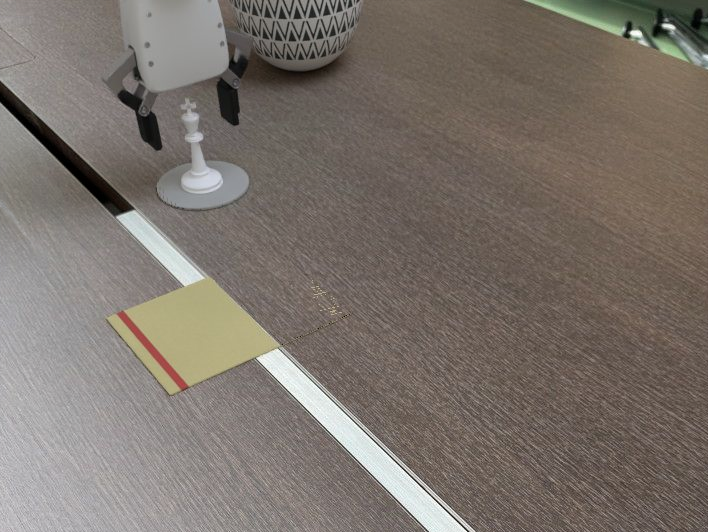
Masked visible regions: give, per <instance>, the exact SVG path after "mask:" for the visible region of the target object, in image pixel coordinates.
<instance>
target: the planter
mask: <svg viewBox="0 0 708 532" xmlns="http://www.w3.org/2000/svg"><path fill="white" fill-rule="evenodd" d="M228 2H229V5H230V9H231V12H232V15H233V18H234V21H235V23H236V26H237V28H238V32H240V33H243V34H246V35H247V36H249V37H251V38H252V39H253V46H252V49H251V51H252V52H254V53H255V54H256V55H257V56H258V57H260V58H261V59H262V60H263V61H265V62H267V63H268V64H270V65H272V66H273V67H276V68H278V69H280V70H284V71H290V72H308V71H313V70H317V69H320V68H323V67H325V66H328V65H329V64H331V63H332V62H334V61H335V60H336V59H337V58H338V57H340V55H342V53H344V51H346V49H347V48H348V47H349V45H350V44H351V42H352V41H353V39H354V38H355V35H356V33H357V31H358V28H359V25H360V21H361V17H362V13H363V7H364V0H229V1H228Z"/></svg>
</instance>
